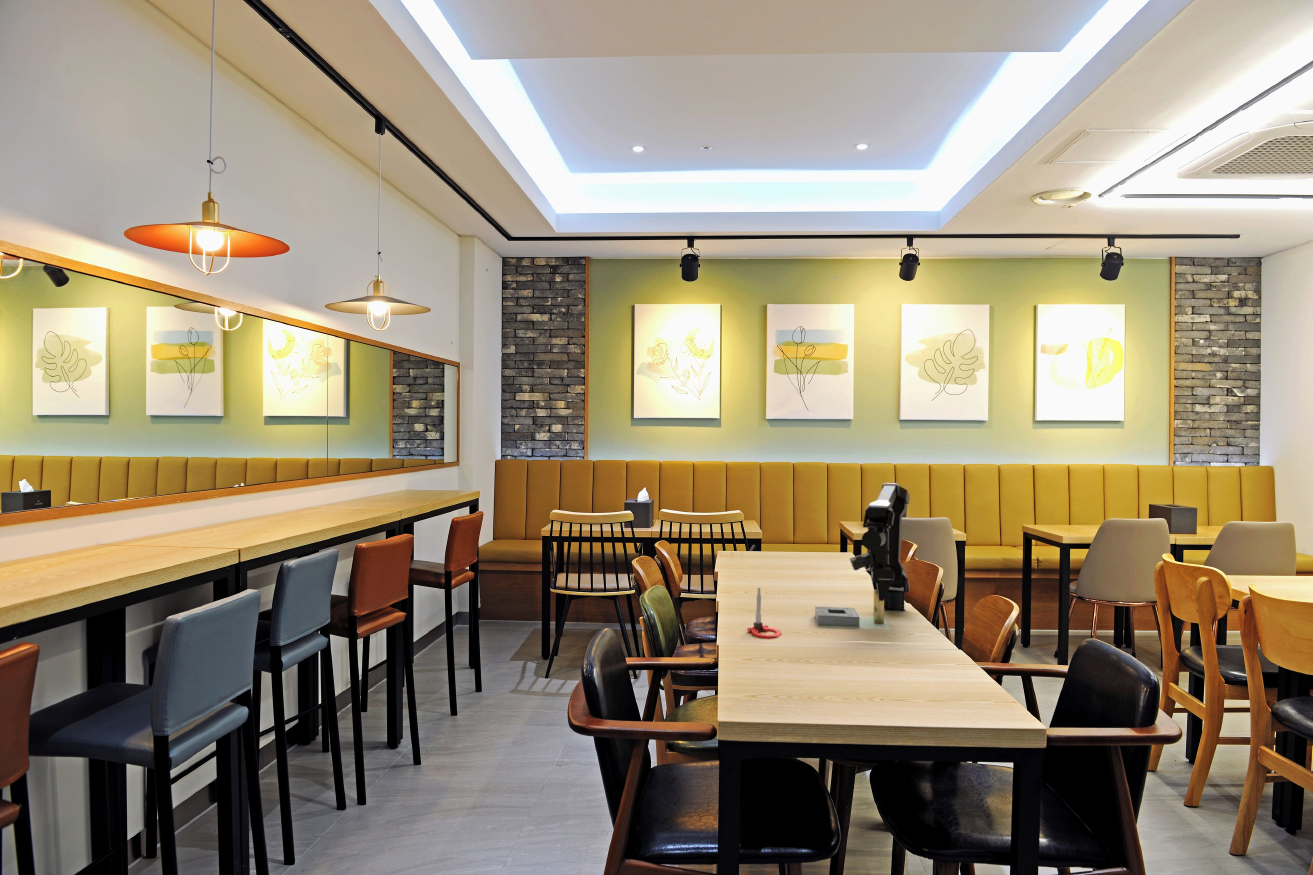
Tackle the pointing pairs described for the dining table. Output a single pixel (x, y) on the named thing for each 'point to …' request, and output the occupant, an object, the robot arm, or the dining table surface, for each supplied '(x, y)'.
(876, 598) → the pin
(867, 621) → the mat
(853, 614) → the block
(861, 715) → the dining table surface
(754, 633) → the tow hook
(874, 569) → the robot arm
